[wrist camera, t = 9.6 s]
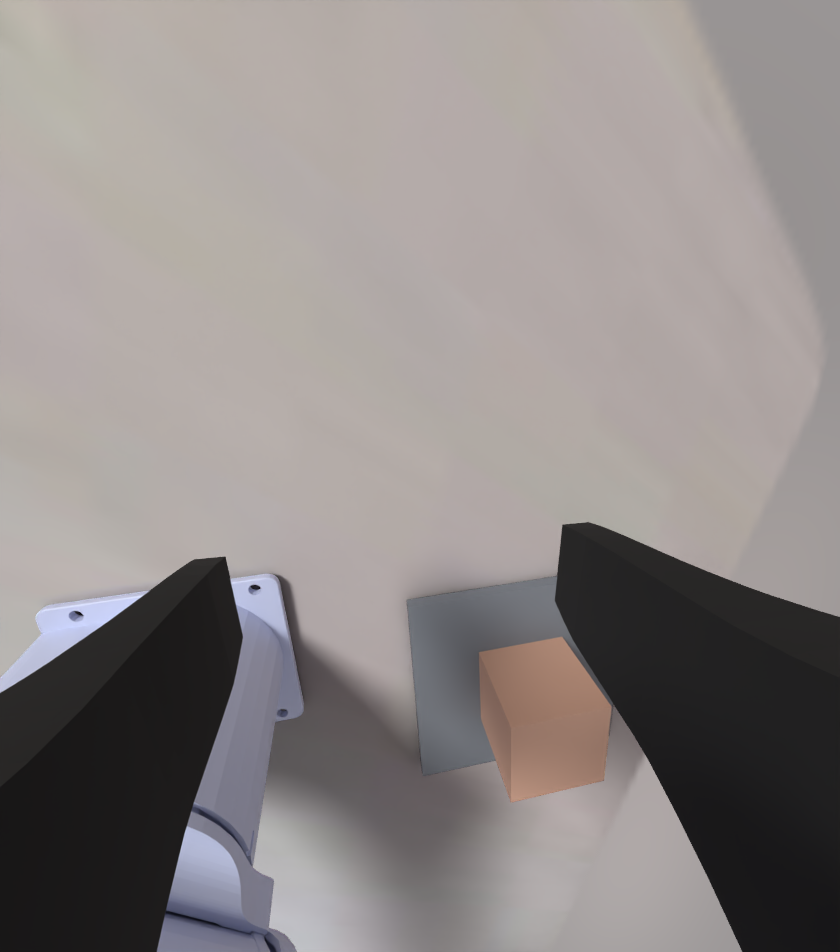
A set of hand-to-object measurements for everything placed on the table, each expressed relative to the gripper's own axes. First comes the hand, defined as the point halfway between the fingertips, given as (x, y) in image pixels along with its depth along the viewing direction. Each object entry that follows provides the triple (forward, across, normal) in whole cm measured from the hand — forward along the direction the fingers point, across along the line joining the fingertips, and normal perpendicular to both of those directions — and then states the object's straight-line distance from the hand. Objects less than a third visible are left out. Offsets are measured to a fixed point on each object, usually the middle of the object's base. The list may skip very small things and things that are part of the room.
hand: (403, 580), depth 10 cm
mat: (+9, -6, +13) cm, 17 cm away
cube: (+9, -6, +13) cm, 17 cm away
